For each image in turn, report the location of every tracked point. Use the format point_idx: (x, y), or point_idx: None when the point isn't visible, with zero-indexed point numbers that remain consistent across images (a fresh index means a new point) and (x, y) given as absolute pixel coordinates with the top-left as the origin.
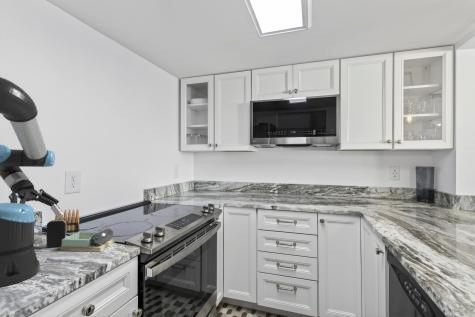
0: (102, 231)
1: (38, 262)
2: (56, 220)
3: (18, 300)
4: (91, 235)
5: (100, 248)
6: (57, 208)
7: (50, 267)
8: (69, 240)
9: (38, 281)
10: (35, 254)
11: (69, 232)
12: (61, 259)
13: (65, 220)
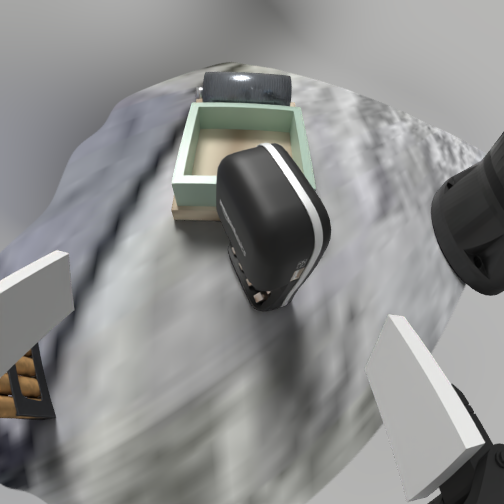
0: (248, 75)
1: (449, 180)
2: (288, 177)
3: None
4: (194, 142)
5: (294, 104)
6: (5, 287)
7: (417, 177)
8: (309, 162)
9: (458, 168)
10: (469, 167)
11: (37, 343)
12: (373, 176)
13: (235, 152)
